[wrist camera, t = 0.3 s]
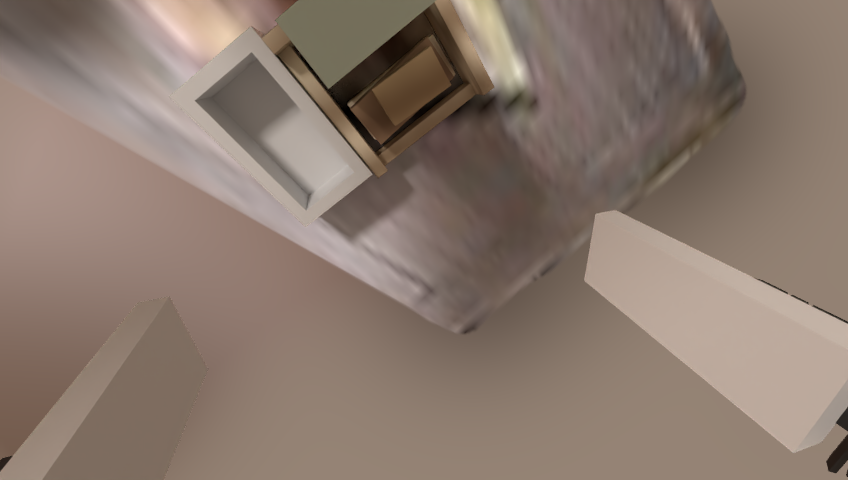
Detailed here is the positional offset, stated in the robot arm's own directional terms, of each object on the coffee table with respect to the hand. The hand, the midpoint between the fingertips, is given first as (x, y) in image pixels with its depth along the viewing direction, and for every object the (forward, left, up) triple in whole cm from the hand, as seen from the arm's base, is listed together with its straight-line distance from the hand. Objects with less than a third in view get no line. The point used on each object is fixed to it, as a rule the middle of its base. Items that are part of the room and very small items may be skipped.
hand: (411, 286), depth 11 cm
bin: (-4, -5, -28) cm, 28 cm away
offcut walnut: (-1, +6, -26) cm, 26 cm away
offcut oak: (-1, +7, -24) cm, 25 cm away
